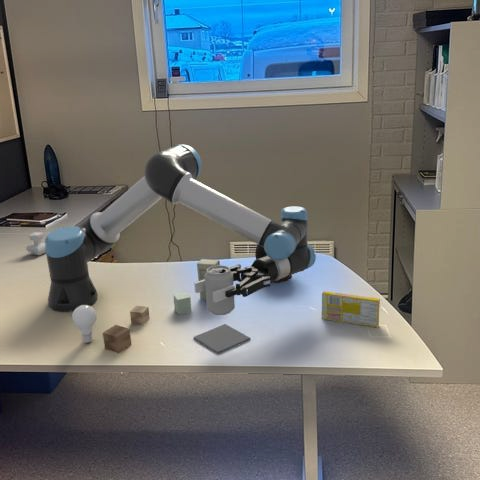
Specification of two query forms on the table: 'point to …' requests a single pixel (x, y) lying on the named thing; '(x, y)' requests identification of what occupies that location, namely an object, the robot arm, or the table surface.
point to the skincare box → (205, 271)
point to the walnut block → (117, 338)
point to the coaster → (221, 338)
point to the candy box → (350, 309)
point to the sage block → (182, 303)
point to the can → (215, 281)
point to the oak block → (139, 315)
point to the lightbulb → (84, 321)
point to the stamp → (36, 244)
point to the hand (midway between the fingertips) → (204, 292)
